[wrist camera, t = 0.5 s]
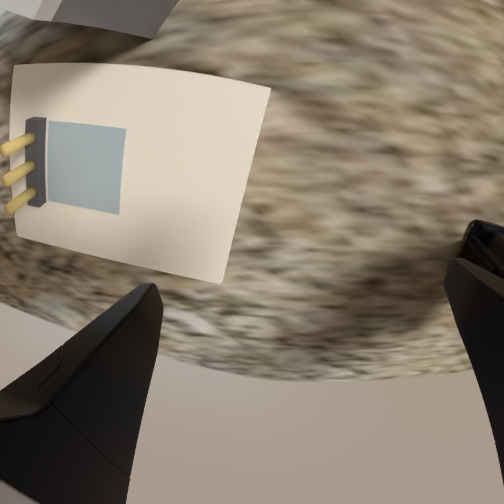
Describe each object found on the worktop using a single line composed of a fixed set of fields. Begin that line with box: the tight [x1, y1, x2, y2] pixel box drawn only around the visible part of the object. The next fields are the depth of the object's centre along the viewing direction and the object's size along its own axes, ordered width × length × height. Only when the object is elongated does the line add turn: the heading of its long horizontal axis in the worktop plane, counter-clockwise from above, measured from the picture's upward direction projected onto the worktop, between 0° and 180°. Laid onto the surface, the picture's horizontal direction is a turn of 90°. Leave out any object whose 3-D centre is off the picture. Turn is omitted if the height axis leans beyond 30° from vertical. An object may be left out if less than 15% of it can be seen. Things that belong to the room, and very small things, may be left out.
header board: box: [0, 63, 271, 284], centre depth 18 cm, size 18×14×5 cm
